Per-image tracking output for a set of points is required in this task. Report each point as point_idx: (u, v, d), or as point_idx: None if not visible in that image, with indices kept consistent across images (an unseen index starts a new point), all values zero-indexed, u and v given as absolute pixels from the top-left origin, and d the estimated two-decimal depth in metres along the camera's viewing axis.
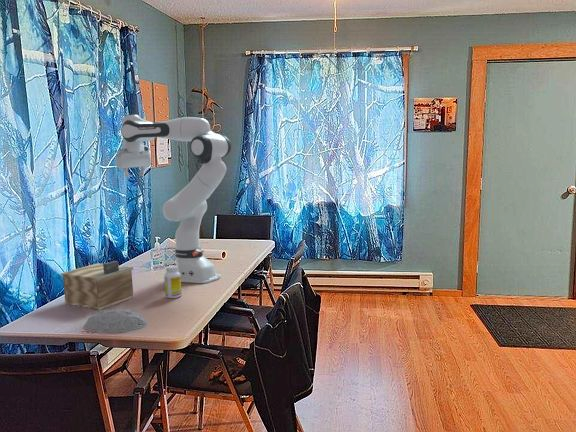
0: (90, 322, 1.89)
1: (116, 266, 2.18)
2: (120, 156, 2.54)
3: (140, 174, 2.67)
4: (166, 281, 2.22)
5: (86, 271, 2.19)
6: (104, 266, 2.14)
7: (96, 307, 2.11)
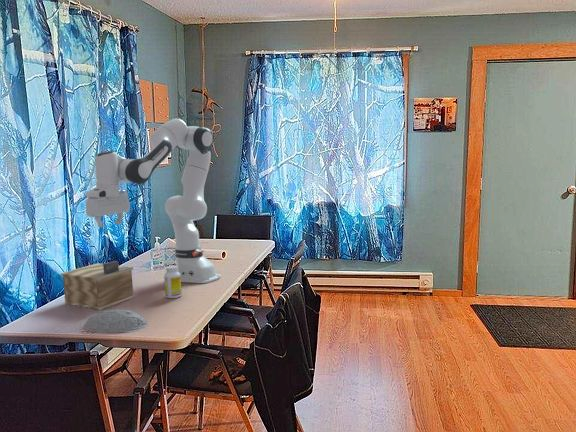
0: (89, 322, 1.89)
1: (116, 266, 2.18)
2: None
3: None
4: (166, 281, 2.22)
5: (86, 271, 2.19)
6: (104, 266, 2.14)
7: (96, 307, 2.11)
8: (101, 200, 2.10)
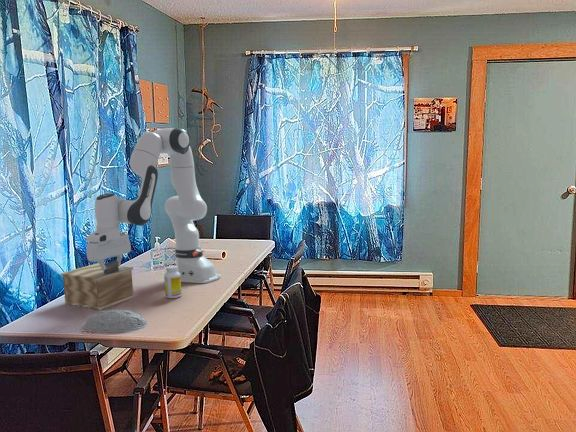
0: (89, 322, 1.89)
1: (116, 266, 2.18)
2: None
3: None
4: (166, 281, 2.22)
5: (86, 271, 2.19)
6: None
7: (96, 307, 2.11)
8: (102, 244, 2.09)
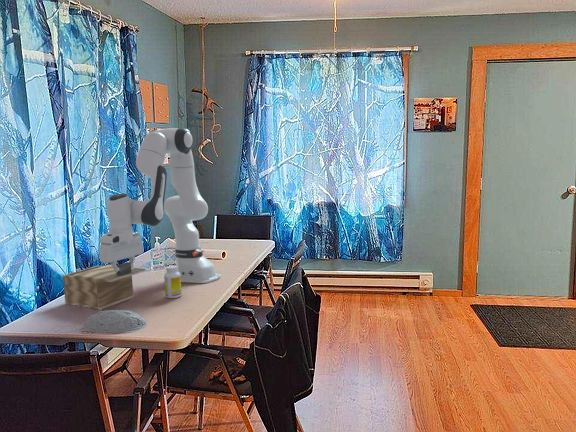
0: (89, 322, 1.89)
1: (129, 268, 2.14)
2: None
3: None
4: (166, 281, 2.22)
5: (98, 273, 2.16)
6: None
7: (96, 307, 2.11)
8: (115, 246, 2.05)
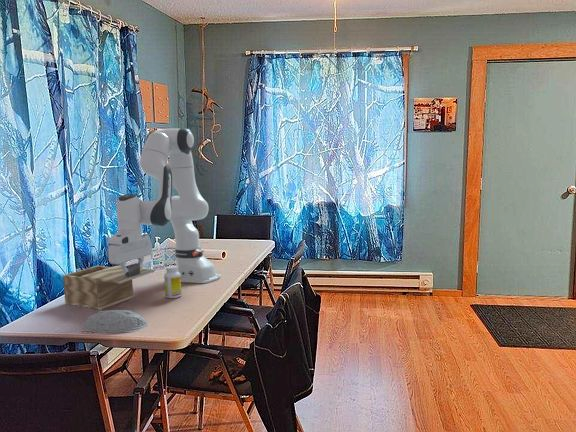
0: (89, 322, 1.89)
1: (137, 269, 2.12)
2: None
3: None
4: (166, 281, 2.22)
5: (107, 274, 2.14)
6: None
7: (96, 307, 2.11)
8: (124, 246, 2.03)
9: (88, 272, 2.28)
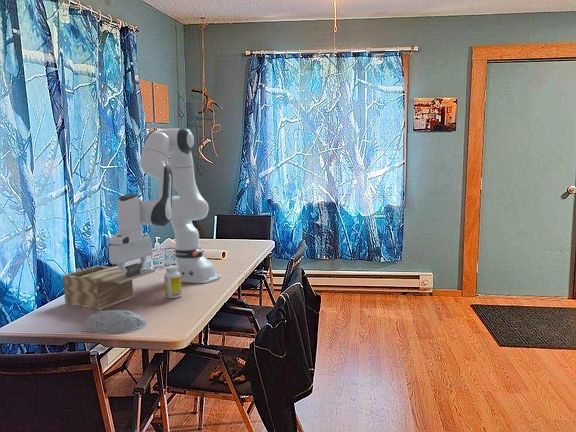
0: (88, 322, 1.89)
1: (138, 269, 2.12)
2: None
3: None
4: (166, 281, 2.22)
5: (107, 274, 2.13)
6: None
7: (96, 307, 2.11)
8: (124, 247, 2.03)
9: (88, 272, 2.28)
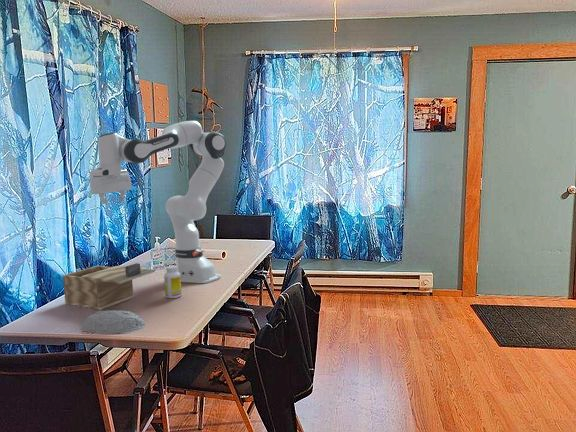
0: (87, 323, 1.88)
1: (138, 269, 2.12)
2: None
3: None
4: (166, 281, 2.22)
5: (107, 274, 2.13)
6: (126, 269, 2.08)
7: (96, 307, 2.11)
8: (104, 178, 2.24)
9: (88, 272, 2.28)
